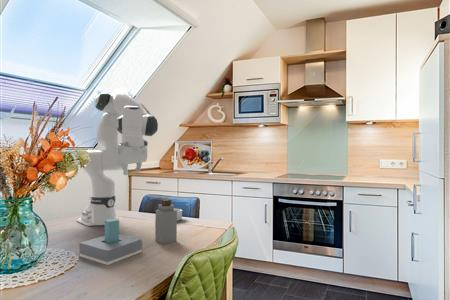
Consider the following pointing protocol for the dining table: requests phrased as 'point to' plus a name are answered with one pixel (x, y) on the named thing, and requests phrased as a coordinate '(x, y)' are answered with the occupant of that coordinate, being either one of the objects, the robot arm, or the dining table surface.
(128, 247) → the socket block
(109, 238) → the peg
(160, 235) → the perfume bottle
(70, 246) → the dining table surface
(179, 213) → the saucepan
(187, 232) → the dining table surface
